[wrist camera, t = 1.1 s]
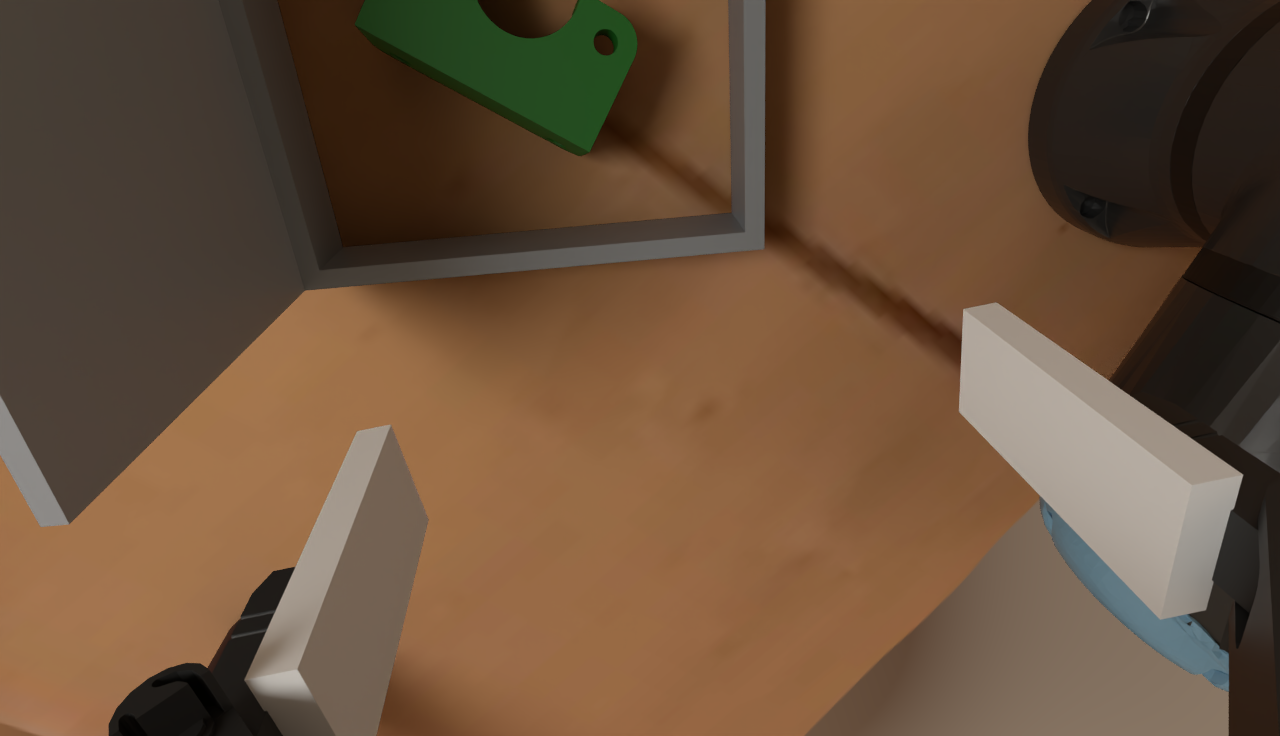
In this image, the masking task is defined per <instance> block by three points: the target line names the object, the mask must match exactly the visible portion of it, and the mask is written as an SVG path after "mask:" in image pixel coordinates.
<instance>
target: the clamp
mask: <svg viewBox="0 0 1280 736" xmlns="http://www.w3.org/2000/svg"><path fill="white" fill-rule="evenodd" d="M355 26H356V27H357V28H358V29H359V30H360V31H361V32H362V33H363V34H364V36H365V37H366V38H367V39H368V40H369V41H370V42H371V43H372V44H373V45H374V46H375V47H377V48H378V49H380V50H381V51H383V52H385V53H386V54H388V55H390V56H391V57H393V58H395V59H397V60H398V61H400V62H402V63H404V64H406V65H407V66H409V67H411V68H413V69H415V70H417V71H419V72H421V73H422V74H424V75H426V76H428V77H430V78H432V79H434V80H435V81H437V82H439V83H441V84H443V85H445V86H447V87H448V88H450V89H452V90H454V91H456V92H458V93H460V94H461V95H463V96H465V97H467V98H469V99H471V100H473V101H474V102H476V103H478V104H480V105H482V106H484V107H486V108H487V109H489V110H491V111H493V112H495V113H497V114H499V115H501V116H502V117H504V118H506V119H508V120H510V121H512V122H514V123H515V124H517V125H519V126H521V127H523V128H525V129H527V130H528V131H530V132H532V133H534V134H536V135H538V136H540V137H541V138H543V139H545V140H547V141H549V142H551V143H553V144H554V145H556V146H558V147H560V148H562V149H564V150H566V151H568V152H570V153H573V154H575V155H578V156H582V155H584V154H586V153H589V152H590V150H591V148H592V146H593V144H594V142H595V140H596V138H597V135H598V133H599V131H600V129H601V127H602V125H603V123H604V121H605V119H606V117H607V115H608V112H609V110H610V108H611V106H612V104H613V102H614V100H615V98H616V96H617V94H618V91H619V89H620V87H621V85H622V83H623V81H624V79H625V77H626V75H627V73H628V71H629V68H630V66H631V64H632V62H633V60H634V58H635V55H636V52H637V36H636V33H635V30H634V28H633V26H632V24H631V23H630V21H629V20H628V19H627V18H626V17H625V16H623V15H622V14H621V13H619V12H617V11H616V10H614V9H612V8H611V7H609V6H607V5H606V4H604V3H602V2H601V1H599V0H578V1H577V3H576V6H575V9H574V11H573V14H572V18H571V19H570V20H569V21H568V23H567V24H566V25H565V26H563V27H562V28H561V29H560V30H558V31H557V32H555V33H553V34H551V35H548V36H545V37H541V38H533V39H532V38H521V37H517V36H514V35H511V34H509V33H507V32H505V31H503V30H502V29H500V28H499V27H498V26H496V25H495V24H494V23H493V22H492V21H491V20H490V19H489V18H488V17H487V16H486V14H485V13H484V12H483V10H482V9H481V7H480V5H479V3H478V1H477V0H365V1H364V3H363V6H362V8H361V10H360V13H359V15H358V18H357V20H356V22H355ZM599 35H604V36H607V37H608V38H609V39H610V40H611V41H612V43H613V47H614V51H613V54H611V55H608V56H605V55H601V54H600V53H598V52H597V51H596V49H595V47H594V38H595V37H596V36H599Z"/></svg>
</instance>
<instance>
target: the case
mask: <svg viewBox="0 0 1280 736" xmlns="http://www.w3.org/2000/svg"><path fill="white" fill-rule="evenodd" d="M728 5H729V67H730V128H731V190H732V213H724V214H713V215H701V216H690V217H679V218H667V219H656V220H645V221H634V222H622V223H611V224H600V225H588V226H577V227H566V228H555V229H543V230H532V231H521V232H509V233H498V234H487V235H476V236H464V237H453V238H442V239H431V240H419V241H408V242H397V243H385V244H374V245H363V246H352V247H343V246H342V242H341V238H340V234H339V231H338V227H337V223H336V219H335V216H334V212H333V208H332V204H331V201H330V197H329V193H328V189H327V186H326V182H325V178H324V174H323V170H322V167H321V163H320V159H319V155H318V152H317V148H316V144H315V140H314V137H313V133H312V129H311V125H310V122H309V118H308V114H307V110H306V107H305V103H304V99H303V95H302V91H301V88H300V84H299V80H298V76H297V73H296V69H295V65H294V61H293V58H292V54H291V50H290V46H289V43H288V39H287V35H286V31H285V28H284V24H283V20H282V16H281V13H280V9H279V5H278V1H277V0H0V455H1V457H2V459H3V461H4V462H5V464H6V466H7V468H8V469H9V471H10V473H11V475H12V477H13V478H14V480H15V482H16V484H17V486H18V487H19V489H20V491H21V493H22V494H23V496H24V498H25V500H26V502H27V503H28V505H29V507H30V509H31V511H32V512H33V514H34V516H35V518H36V519H37V521H38V523H39V525H40V527H46V526H56V525H67V524H70V523H71V522H72V521H73V520H74V519H75V518H76V517H77V516H78V515H79V514H80V513H81V512H82V511H83V510H84V509H85V508H86V507H87V506H88V505H89V504H90V503H91V502H92V501H93V500H94V499H95V498H96V497H97V496H98V495H99V494H100V493H101V492H102V491H103V490H104V489H105V488H106V487H107V486H108V485H109V484H110V483H111V482H112V481H113V480H114V479H115V478H116V477H117V476H118V475H119V474H120V473H121V472H122V471H123V470H125V469H126V468H127V467H128V466H129V465H130V464H131V463H132V462H133V461H134V460H135V459H136V458H137V457H138V456H139V455H140V454H141V453H142V452H143V451H144V450H145V449H146V448H147V447H148V446H149V445H150V444H151V443H152V442H153V441H154V440H155V439H156V438H157V437H158V436H159V435H160V434H161V433H162V432H163V431H164V430H165V429H166V428H167V427H168V426H169V425H170V424H171V423H172V422H173V421H174V420H175V419H176V418H177V417H178V416H179V415H180V414H181V413H182V412H183V411H184V410H185V409H186V408H187V407H188V406H189V405H190V404H191V403H192V402H193V401H194V400H195V399H196V398H197V397H198V396H199V395H200V394H201V393H202V392H203V391H204V390H205V389H206V388H207V387H208V386H209V385H210V384H211V383H212V382H213V381H214V380H215V379H216V378H217V377H218V376H219V375H220V374H221V373H222V372H223V371H224V370H225V369H226V368H227V367H228V366H229V365H230V364H231V363H232V362H233V361H234V360H235V359H236V358H237V357H238V356H239V355H240V354H241V353H242V352H243V351H244V350H245V349H246V348H247V347H248V346H249V345H250V344H251V343H252V342H253V341H255V340H256V339H257V338H258V337H259V336H260V335H261V334H262V333H263V332H264V331H265V330H266V329H267V328H268V327H269V326H270V325H271V324H272V323H273V322H274V321H275V320H276V319H277V318H278V317H279V316H280V315H281V314H282V313H283V312H284V311H285V310H286V309H287V308H288V307H289V306H290V305H291V304H292V303H293V302H294V301H295V300H296V299H297V298H298V297H299V296H300V295H301V294H302V293H303V292H304V291H305V290H316V289H327V288H338V287H349V286H360V285H371V284H382V283H393V282H405V281H416V280H427V279H438V278H449V277H460V276H471V275H482V274H494V273H505V272H516V271H527V270H538V269H549V268H560V267H571V266H583V265H594V264H605V263H616V262H627V261H638V260H649V259H660V258H672V257H683V256H694V255H705V254H716V253H727V252H738V251H749V250H761V249H764V227H765V0H728Z"/></svg>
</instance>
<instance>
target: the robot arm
mask: <svg viewBox="0 0 1280 736" xmlns="http://www.w3.org/2000/svg"><path fill="white" fill-rule="evenodd" d="M1028 146H1029V156H1030V162H1031V167H1032V171H1033V174H1034V177H1035V180H1036V183H1037V185H1038V187H1039V189H1040V191H1041V193H1042V195H1043V196H1044V198H1045V199H1046V201H1047V202H1048V204H1049V205H1050V206H1051V207H1052V208H1053V209H1054V211H1055V212H1056V213H1058V214H1059V215H1060V216H1061V217H1062V218H1063V219H1065V220H1066V221H1067V222H1069V223H1071V224H1072V225H1074V226H1076V227H1078V228H1080V229H1082V230H1084V231H1086V232H1088V233H1091V234H1093V235H1095V236H1097V237H1100V238H1102V239H1105V240H1107V241H1110V242H1114V243H1118V244H1123V245H1128V246H1135V247H1203V248H1202V249H1201V250H1200V252H1199V253H1198V255H1197V256H1196V258H1195V259H1194V260H1193V262H1192V263H1191V265H1190V266H1189V268H1188V269H1187V271H1186V272H1185V273H1184V275H1182V276H1181V278H1180V279H1179V280H1178V282H1177V283H1176V285H1175V286H1174V288H1173V289H1172V291H1171V292H1170V294H1169V295H1168V297H1167V298H1166V300H1165V301H1164V303H1163V304H1162V305H1161V307H1160V308H1159V310H1158V311H1157V313H1156V314H1155V316H1154V317H1153V319H1152V320H1151V322H1150V323H1149V325H1148V326H1147V328H1146V329H1145V330H1144V332H1143V333H1142V335H1141V336H1140V337H1139V339H1138V340H1137V342H1136V343H1135V344H1134V346H1133V347H1132V349H1131V350H1130V351H1129V353H1128V354H1127V356H1126V357H1125V359H1124V360H1123V361H1122V363H1121V364H1120V366H1119V367H1118V368H1117V370H1116V371H1115V373H1114V374H1113V375H1112V377H1111V378H1110V380H1109V381H1108V380H1107V379H1105V378H1104V377H1103V376H1101V375H1100V374H1098V373H1097V372H1095V371H1094V370H1093V369H1091V368H1090V367H1088V366H1087V365H1085V364H1084V363H1083V362H1081V361H1080V360H1078V359H1077V358H1075V357H1074V356H1072V355H1071V354H1070V353H1068V352H1067V351H1065V350H1064V349H1062V348H1061V347H1060V346H1058V345H1057V344H1055V343H1054V342H1052V341H1051V340H1050V339H1048V338H1047V337H1045V336H1044V335H1042V334H1041V333H1040V332H1038V331H1037V330H1035V329H1034V328H1032V327H1031V326H1030V325H1028V324H1027V323H1025V322H1024V321H1022V320H1021V319H1020V318H1018V317H1017V316H1015V315H1014V314H1012V313H1011V312H1010V311H1008V310H1007V309H1005V308H1004V307H1002V306H1001V305H999V304H998V303H997V302H996V303H991V304H986V305H981V306H976V307H971V308H966V309H963V331H962V354H961V377H960V399H959V412H960V413H961V414H962V415H963V416H964V417H965V418H966V419H967V421H968V422H969V423H970V424H971V425H972V426H973V427H974V428H975V429H976V430H977V431H978V432H979V433H980V434H981V435H982V436H983V437H984V438H985V439H986V440H987V441H988V442H989V443H990V444H991V445H992V446H993V447H994V448H995V449H996V450H997V452H998V453H999V454H1000V455H1001V456H1002V457H1003V458H1004V459H1005V460H1006V461H1007V462H1008V463H1009V464H1010V465H1011V466H1012V467H1013V468H1014V469H1015V470H1016V471H1017V472H1018V473H1019V474H1020V475H1021V476H1022V477H1023V478H1024V479H1025V480H1026V482H1027V483H1028V484H1029V485H1030V486H1031V487H1032V488H1033V489H1034V490H1035V491H1036V492H1037V493H1038V494H1039V495H1040V509H1041V514H1042V517H1043V519H1044V524H1045V526H1046V528H1047V530H1048V531H1049V533H1050V535H1051V536H1052V540H1053V542H1054V545H1055V547H1056V548H1057V550H1058V552H1059V553H1060V554H1061V556H1062V557H1063V559H1064V560H1065V562H1066V563H1067V565H1068V566H1069V567H1070V569H1071V570H1072V571H1073V572H1074V574H1075V575H1076V576H1077V577H1078V579H1079V580H1080V581H1081V582H1082V583H1083V584H1084V586H1085V587H1086V588H1087V589H1088V590H1089V591H1090V592H1091V593H1092V594H1093V595H1094V597H1095V598H1096V599H1098V600H1099V602H1100V603H1101V604H1102V605H1103V606H1104V607H1105V608H1107V610H1109V611H1110V612H1111V613H1112V614H1113V615H1114V616H1115V617H1116V618H1117V619H1118V620H1119V621H1120V622H1121V623H1123V624H1124V625H1125V626H1126V627H1127V628H1128V629H1130V630H1131V631H1132V632H1133V633H1134V634H1135V635H1137V636H1138V637H1139V638H1140V639H1141V640H1143V641H1144V642H1145V643H1146V644H1148V645H1149V646H1151V647H1152V648H1153V649H1154V650H1156V651H1157V652H1158V653H1160V654H1161V655H1162V656H1164V657H1165V658H1167V659H1169V660H1170V661H1171V662H1173V663H1174V664H1176V665H1178V666H1179V667H1181V668H1182V669H1184V670H1186V671H1187V672H1189V673H1191V674H1202V675H1203V676H1204V677H1206V678H1207V679H1208V680H1209V681H1210V682H1211V683H1212V684H1213V685H1214V686H1216V687H1218V688H1220V689H1222V690H1225V691H1227V692H1229V736H1280V0H1092V1H1091V2H1090V3H1089V4H1088V5H1087V6H1086V7H1085V8H1084V9H1083V11H1082V12H1081V13H1080V14H1079V15H1078V16H1077V17H1076V19H1075V20H1074V21H1073V22H1072V24H1071V25H1070V26H1069V28H1068V29H1067V30H1066V32H1065V33H1064V35H1063V36H1062V38H1061V39H1060V41H1059V42H1058V44H1057V46H1056V47H1055V49H1054V51H1053V53H1052V54H1051V56H1050V58H1049V60H1048V62H1047V64H1046V66H1045V68H1044V71H1043V73H1042V76H1041V78H1040V81H1039V83H1038V86H1037V89H1036V92H1035V96H1034V100H1033V104H1032V108H1031V114H1030V121H1029V133H1028ZM428 520H429V519H428V517H427V514H426V512H425V509H424V507H423V504H422V502H421V499H420V497H419V494H418V492H417V489H416V487H415V484H414V482H413V479H412V476H411V474H410V471H409V469H408V466H407V464H406V461H405V459H404V456H403V454H402V451H401V449H400V446H399V444H398V441H397V439H396V436H395V434H394V431H393V429H392V426H391V425H386V426H381V427H376V428H371V429H366V430H361V431H357V433H356V435H355V437H354V439H353V442H352V444H351V446H350V448H349V450H348V453H347V455H346V457H345V459H344V461H343V464H342V466H341V468H340V470H339V472H338V475H337V477H336V479H335V481H334V483H333V486H332V488H331V490H330V492H329V494H328V497H327V499H326V501H325V503H324V505H323V508H322V510H321V512H320V514H319V516H318V519H317V521H316V523H315V525H314V528H313V530H312V532H311V534H310V536H309V539H308V541H307V543H306V545H305V547H304V550H303V552H302V554H301V556H300V558H299V561H298V563H297V565H296V567H292V568H287V569H282V570H277V571H273V572H272V573H271V574H270V575H269V576H268V577H267V579H266V580H265V581H264V582H263V583H262V584H261V585H260V586H259V587H258V588H257V589H256V590H255V591H254V592H253V593H252V595H251V597H250V599H249V601H248V603H247V605H246V607H245V609H244V611H243V613H242V615H241V621H238V623H237V625H236V627H235V629H234V631H233V633H232V635H231V637H232V639H231V640H229V641H228V643H227V645H226V646H225V648H224V650H223V652H222V654H221V656H220V658H219V660H218V662H217V664H216V666H215V668H214V670H213V672H212V673H211V671H210V670H209V669H208V668H206V667H205V666H203V665H202V664H198V663H185V664H181V665H177V666H174V667H170V668H167V669H166V670H164V671H162V672H160V673H158V674H156V675H154V676H152V677H150V678H149V679H147V680H146V681H145V682H143V683H142V684H141V685H140V686H138V687H137V688H136V689H134V690H133V691H132V692H131V693H130V694H129V695H128V696H127V697H126V698H125V699H124V701H123V702H122V703H121V704H120V705H119V706H118V707H117V709H116V711H115V713H114V715H113V717H112V719H111V721H110V723H109V736H376V735H377V731H378V727H379V723H380V719H381V714H382V710H383V706H384V702H385V698H386V694H387V690H388V686H389V681H390V677H391V673H392V669H393V665H394V661H395V657H396V652H397V648H398V644H399V640H400V636H401V632H402V628H403V623H404V619H405V615H406V611H407V607H408V603H409V599H410V594H411V590H412V586H413V582H414V578H415V574H416V570H417V565H418V561H419V557H420V553H421V549H422V545H423V541H424V536H425V532H426V528H427V524H428Z"/></svg>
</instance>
